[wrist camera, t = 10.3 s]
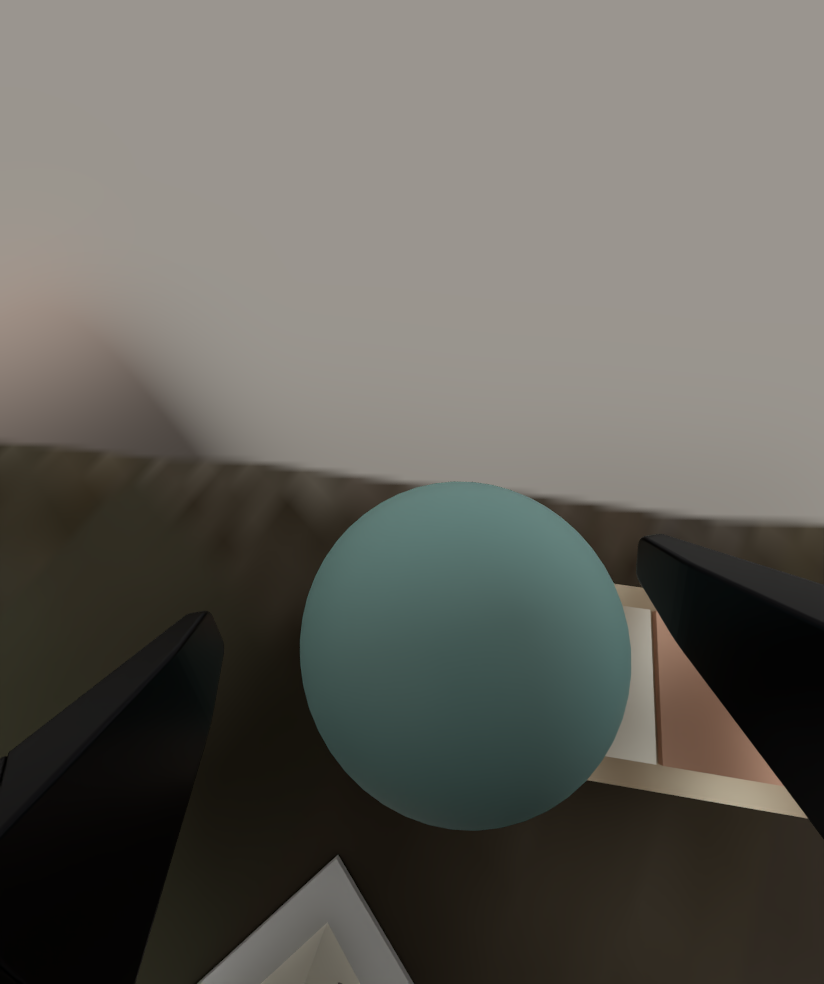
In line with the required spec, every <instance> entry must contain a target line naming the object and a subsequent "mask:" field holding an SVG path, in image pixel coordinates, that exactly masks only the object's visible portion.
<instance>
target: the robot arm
mask: <svg viewBox="0 0 824 984" xmlns="http://www.w3.org/2000/svg"><path fill="white" fill-rule="evenodd" d="M636 574H637V578H638V580H639V582H640V584H641V585H642V587H643V589H644V590H645V592H646V594H647V595H648V597H649V599H650V600H651V602H652V604H653V605H654V607H655V609H656V610H657V612H658V614H659V615H660V617H661V619H662V620H663V622H664V624H665V625H666V627H667V629H668V630H669V632H670V634H671V635H672V637H673V638H674V640H675V641H676V643H677V644H678V646H679V647H680V648H681V650H682V651H683V653H684V654H685V655H686V657H687V658H688V659H689V661H690V662H691V663H692V665H693V666H694V667H695V669H696V670H697V671H698V673H699V674H700V675H701V677H702V678H703V679H704V681H705V682H706V683H707V685H708V686H709V687H710V689H711V690H712V691H713V693H714V694H715V695H716V696H717V698H718V699H719V700H720V702H721V703H722V704H723V706H724V707H725V708H726V710H727V711H728V712H729V714H730V715H731V716H732V718H733V719H734V720H735V722H736V723H737V724H738V726H739V727H740V728H741V730H742V731H743V732H744V734H745V735H746V736H747V738H748V739H749V740H750V742H751V743H752V744H753V746H754V747H755V748H756V750H757V751H758V752H759V754H760V755H761V756H762V758H763V759H764V760H765V762H766V763H767V764H768V766H769V767H770V768H771V770H772V771H773V772H774V774H775V775H776V776H777V778H778V779H779V780H780V782H781V783H782V784H783V786H784V787H785V788H786V790H787V791H788V792H789V794H790V795H791V796H792V798H793V799H794V800H795V802H796V803H797V804H798V806H799V807H800V808H801V810H802V811H803V812H804V814H805V815H806V816H807V818H808V819H809V820H810V822H811V823H812V824H813V826H814V827H815V828H816V830H817V831H818V832H819V834H820V835H821V836H822V838H823V839H824V585H823V584H820V583H816V582H813V581H810V580H807V579H804V578H800V577H797V576H794V575H791V574H788V573H785V572H781V571H778V570H775V569H772V568H769V567H765V566H762V565H759V564H756V563H753V562H750V561H746V560H743V559H740V558H737V557H734V556H730V555H727V554H724V553H721V552H718V551H715V550H711V549H708V548H705V547H702V546H699V545H695V544H692V543H689V542H686V541H683V540H680V539H676V538H673V537H670V536H667V535H664V534H656V535H650V536H644V537H642V538H641V539H640V541H639V544H638V554H637V564H636ZM223 655H224V643H223V640H222V637H221V635H220V632H219V630H218V628H217V625H216V623H215V621H214V618H213V616H212V614H211V613H210V612H208V611H202V612H196V613H190V614H187V615H186V616H184V617H183V618H182V619H180V620H179V621H178V622H176V623H175V624H174V625H173V626H171V627H170V628H169V629H167V630H166V631H165V632H164V633H162V634H161V635H160V636H158V637H157V638H156V639H154V640H153V641H152V642H151V643H149V644H148V645H147V646H145V647H144V648H143V649H142V650H140V651H139V652H138V653H136V654H135V655H134V656H133V657H131V658H130V659H129V660H127V661H126V662H125V663H124V664H122V665H121V666H120V667H118V668H117V669H116V670H114V671H113V672H112V673H111V674H109V675H108V676H107V677H105V678H104V679H103V680H102V681H100V682H99V683H98V684H96V685H95V686H94V687H93V688H91V689H90V690H89V691H87V692H86V693H85V694H84V695H82V696H81V697H80V698H78V699H77V700H76V701H74V702H73V703H72V704H71V705H69V706H68V707H67V708H65V709H64V710H63V711H62V712H60V713H59V714H58V715H56V716H55V717H54V718H53V719H51V720H50V721H49V722H47V723H46V724H45V725H44V726H42V727H41V728H40V729H38V730H37V731H36V732H34V733H33V734H32V735H31V736H29V737H28V738H27V739H25V740H24V741H23V742H22V743H20V744H19V745H18V746H16V747H15V748H14V749H13V750H11V751H10V752H9V753H8V756H7V757H6V756H4V757H2V758H1V759H0V984H135V982H136V979H137V975H138V972H139V969H140V965H141V962H142V958H143V955H144V952H145V948H146V945H147V941H148V938H149V934H150V931H151V928H152V924H153V921H154V917H155V914H156V911H157V907H158V904H159V900H160V897H161V894H162V890H163V887H164V883H165V880H166V876H167V873H168V870H169V866H170V863H171V859H172V856H173V853H174V849H175V846H176V842H177V839H178V836H179V832H180V829H181V825H182V822H183V818H184V815H185V812H186V808H187V805H188V801H189V798H190V795H191V791H192V788H193V784H194V781H195V777H196V774H197V771H198V767H199V764H200V760H201V757H202V754H203V750H204V747H205V743H206V740H207V736H208V733H209V729H210V725H211V721H212V716H213V711H214V705H215V700H216V694H217V689H218V683H219V677H220V672H221V666H222V661H223Z"/></svg>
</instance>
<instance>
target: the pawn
mask: <svg viewBox="0 0 824 984" xmlns="http://www.w3.org/2000/svg"><path fill="white" fill-rule="evenodd" d="M300 666H301V673H302V681H303V687H304V691H305V694H306V698H307V702H308V706H309V709H310V712H311V714H312V717H313V719H314V721H315V724H316V726H317V729H318V731H319V733H320V735H321V736H322V738H323V740H324V742H325V744H326V745H327V747H328V749H329V751H330V752H331V754H332V755H333V756H334V758H335V759H336V760H337V762H338V763H339V764H340V765H341V767H342V768H343V769H344V771H345V772H346V773H347V774H348V775H349V776H350V777H351V778H352V779H353V780H354V781H355V782H356V783H357V784H358V785H359V786H360V787H361V788H362V789H363V790H364V791H366V792H367V793H368V794H370V795H371V796H372V797H374V798H375V799H376V800H378V801H379V802H380V803H382V804H383V805H385V806H387V807H389V808H391V809H392V810H394V811H396V812H398V813H400V814H401V815H403V816H405V817H408V818H411V819H414V820H416V821H419V822H422V823H424V824H427V825H432V826H437V827H441V828H446V829H451V830H471V831H478V830H487V829H496V828H502V827H506V826H510V825H513V824H517V823H520V822H524V821H527V820H529V819H531V818H533V817H535V816H537V815H540V814H542V813H544V812H546V811H548V810H550V809H551V808H553V807H554V806H556V805H557V804H559V803H560V802H562V801H563V800H565V799H566V798H568V797H569V796H570V795H571V794H572V793H574V792H575V791H576V790H577V789H578V788H579V787H580V786H581V785H582V784H583V783H584V782H586V781H587V779H588V778H589V777H590V776H591V774H592V773H593V772H594V771H595V769H596V768H597V767H598V766H599V764H600V763H601V762H602V760H603V758H604V757H605V755H606V753H607V752H608V750H609V748H610V747H611V745H612V743H613V741H614V739H615V737H616V734H617V732H618V729H619V727H620V724H621V722H622V720H623V716H624V712H625V708H626V704H627V700H628V696H629V688H630V680H631V645H630V638H629V630H628V625H627V621H626V617H625V613H624V610H623V606H622V603H621V601H620V598H619V595H618V593H617V590H616V588H615V585H614V583H613V581H612V579H611V578H610V576H609V574H608V572H607V570H606V568H605V566H604V565H603V563H602V562H601V560H600V559H599V558H598V556H597V555H596V553H595V552H594V550H593V549H592V548H591V546H590V545H589V544H588V543H587V542H586V541H585V540H584V539H583V537H582V536H581V535H580V534H579V533H578V532H577V531H576V530H575V529H574V528H573V527H572V526H570V525H569V524H568V523H567V522H566V521H565V520H564V519H563V518H561V517H560V516H558V515H557V514H556V513H554V512H553V511H551V510H550V509H549V508H547V507H546V506H544V505H542V504H540V503H538V502H536V501H535V500H533V499H531V498H529V497H527V496H524V495H522V494H519V493H517V492H514V491H512V490H509V489H505V488H502V487H498V486H494V485H489V484H482V483H476V482H445V483H435V484H430V485H426V486H422V487H417V488H414V489H411V490H409V491H406V492H403V493H400V494H398V495H396V496H394V497H392V498H390V499H388V500H386V501H384V502H382V503H380V504H379V505H377V506H376V507H374V508H373V509H371V510H370V511H368V512H367V513H365V514H364V515H363V516H362V517H361V518H359V519H358V520H357V521H356V522H355V523H354V524H353V525H351V526H350V527H349V528H348V529H347V530H346V532H345V533H344V534H343V535H342V536H341V537H340V538H339V539H338V541H337V542H336V543H335V544H334V546H333V547H332V549H331V550H330V552H329V553H328V554H327V556H326V557H325V559H324V561H323V563H322V565H321V566H320V568H319V570H318V572H317V574H316V576H315V578H314V581H313V584H312V586H311V589H310V592H309V594H308V597H307V601H306V605H305V609H304V613H303V618H302V626H301V635H300Z"/></svg>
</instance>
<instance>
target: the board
mask: <svg viewBox="0 0 824 984" xmlns="http://www.w3.org/2000/svg"><path fill="white" fill-rule="evenodd" d="M614 585H615V588H616V590H617V593H618V595H619V598H620V601H621V603H622V606H623V610H624V613H625V617H626V621H627V625H628V630H629V638H630V645H631V680H630V688H629V696H628V700H627V704H626V708H625V712H624V716H623V720H622V722H621V724H620V727H619V729H618V732H617V734H616V737H615V739H614V741H613V743H612V745H611V747H610V748H609V750H608V752H607V753H606V755H605V757H604V758H603V760H602V762H601V763H600V764H599V766H598V767H597V768H596V769H595V771H594V772H593V773H592V774H591V776H590V777H589V778H588V779H587V780H589V781H595V782H601V783H607V784H612V785H618V786H624V787H630V788H635V789H641V790H647V791H653V792H659V793H664V794H670V795H676V796H682V797H687V798H693V799H699V800H705V801H710V802H716V803H722V804H728V805H734V806H739V807H745V808H751V809H757V810H762V811H768V812H774V813H780V814H785V815H791V816H797V817H803V818H807V816H806V815H805V814H804V812H803V811H802V810H801V808H800V807H799V806H798V804H797V803H796V802H795V800H794V799H793V798H792V796H791V795H790V794H789V792H788V791H787V790H786V788H785V787H784V786H783V784H782V783H781V782H780V780H779V779H778V778H777V776H776V775H775V774H774V772H773V771H772V770H771V768H770V767H769V766H768V764H767V763H766V762H765V760H764V759H763V758H762V756H761V755H760V754H759V752H758V751H757V750H756V748H755V747H754V746H753V744H752V743H751V742H750V740H749V739H748V738H747V736H746V735H745V734H744V732H743V731H742V730H741V728H740V727H739V726H738V724H737V723H736V722H735V720H734V719H733V718H732V716H731V715H730V714H729V712H728V711H727V710H726V708H725V707H724V706H723V704H722V703H721V702H720V700H719V699H718V698H717V696H716V695H715V694H714V693H713V691H712V690H711V689H710V687H709V686H708V685H707V683H706V682H705V681H704V679H703V678H702V677H701V675H700V674H699V673H698V671H697V670H696V669H695V667H694V666H693V665H692V663H691V662H690V661H689V659H688V658H687V657H686V655H685V654H684V653H683V651H682V650H681V648H680V647H679V646H678V644H677V643H676V641H675V640H674V638H673V637H672V635H671V634H670V632H669V630H668V629H667V627H666V625H665V624H664V622H663V620H662V619H661V617H660V615H659V614H658V612H657V610H656V609H655V607H654V605H653V604H652V602H651V600H650V599H649V597H648V595H647V594H646V592H645V590H644V589H643V588H640V587H633V586H626V585H619V584H614Z"/></svg>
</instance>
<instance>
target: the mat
mask: <svg viewBox="0 0 824 984" xmlns="http://www.w3.org/2000/svg"><path fill="white" fill-rule="evenodd" d="M327 922H328V924H329V926H330V928H331V930H332V932H333V934H334V936H335V937H336V939H337V941H338V943H339V945H340V947H341V949H342V950H343V952H344V954H345V956H346V958H347V960H348V962H349V964H350V965H351V967H352V969H353V971H354V973H355V975H356V977H357V978H358V980H359V982H360V984H414V983H413V981H412V980H411V978H410V976H409V974H408V973H407V971H406V969H405V968H404V966H403V964H402V963H401V961H400V959H399V957H398V956H397V954H396V952H395V951H394V949H393V947H392V946H391V944H390V942H389V940H388V939H387V937H386V935H385V934H384V932H383V930H382V928H381V927H380V925H379V923H378V922H377V920H376V918H375V917H374V915H373V913H372V911H371V910H370V908H369V906H368V905H367V903H366V901H365V900H364V898H363V896H362V894H361V893H360V891H359V889H358V888H357V886H356V884H355V883H354V881H353V879H352V877H351V876H350V874H349V872H348V871H347V869H346V867H345V866H344V864H343V862H342V860H341V859H340V857H339V855H337V856H336V857H335V858H334V859H332V860H331V861H330V862H329V863H328V864H327V865H326V866H325V867H324V868H323V869H322V870H320V871H319V872H318V873H317V874H316V875H315V876H314V877H313V878H312V879H311V880H310V881H308V882H307V883H306V884H305V885H304V886H303V887H302V888H301V889H300V890H299V891H298V892H296V893H295V894H294V895H293V896H292V897H291V898H290V899H289V900H288V901H287V902H286V903H284V904H283V905H282V906H281V907H280V908H279V909H278V910H277V911H276V912H275V913H274V914H272V915H271V916H270V917H269V918H268V919H267V920H266V921H265V922H264V923H263V924H262V925H260V926H259V927H258V928H257V929H256V930H255V931H254V932H253V933H252V934H251V935H249V936H248V937H247V938H246V939H245V940H244V941H243V942H242V943H241V944H240V945H239V946H237V947H236V948H235V949H234V950H233V951H232V952H231V953H230V954H229V955H228V956H227V957H225V958H224V959H223V960H222V961H221V962H220V963H219V964H218V965H217V966H216V967H215V968H213V969H212V970H211V971H210V972H209V973H208V974H207V975H206V976H205V977H204V978H203V979H201V980H200V981H199V982H198V983H197V984H261V983H262V982H263V981H264V980H265V979H266V978H267V977H268V976H269V975H271V974H272V973H273V972H274V971H275V970H276V969H277V968H278V967H279V966H280V965H281V964H283V963H284V962H285V961H286V960H287V959H288V958H289V957H290V956H291V955H292V954H293V953H295V952H296V951H297V950H298V949H299V948H300V947H301V946H302V945H303V944H304V943H305V942H306V941H308V940H309V939H310V938H311V937H312V936H313V935H314V934H315V933H316V932H317V931H318V930H320V929H321V928H322V927H323V926H324V925H325V924H326V923H327Z"/></svg>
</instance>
